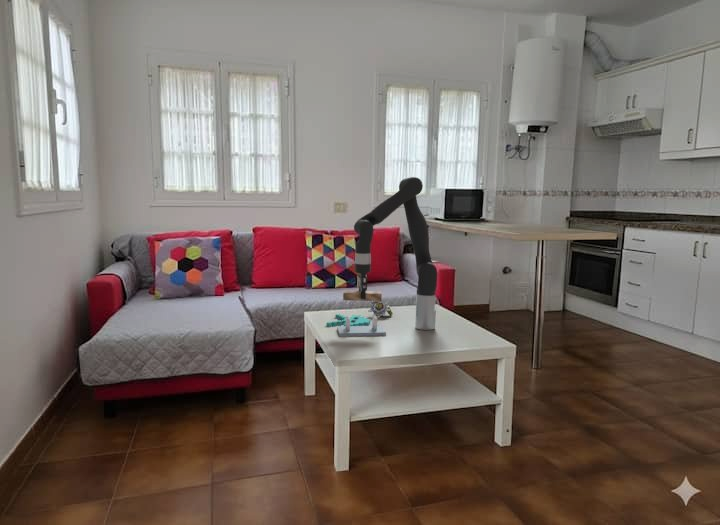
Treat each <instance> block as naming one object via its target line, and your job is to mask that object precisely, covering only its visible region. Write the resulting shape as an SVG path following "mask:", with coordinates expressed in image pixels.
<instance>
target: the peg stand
mask: <svg viewBox="0 0 720 525" xmlns="http://www.w3.org/2000/svg"><path fill="white" fill-rule="evenodd" d="M345 317H346V326H344V325H337V326H336V330H337V333H338V336H339V337H366V336H367V337H373V336H376V337H380V336H384V337H385V336H387V331H386V330H385V328H384V327H383V326H382V325H378V318H377V316H374V315H372V320H371V322H372V324H371V325H369V326H350V316H349V315H346V316H345Z"/></svg>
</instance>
